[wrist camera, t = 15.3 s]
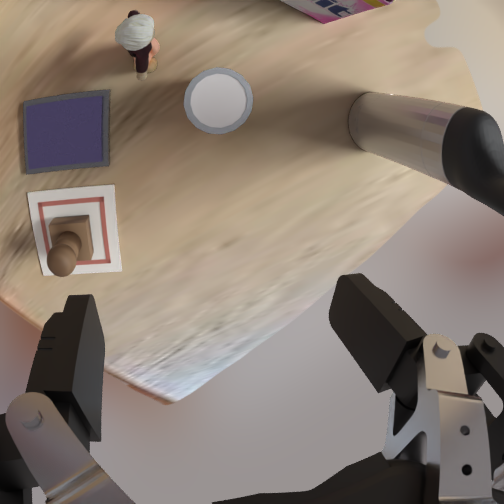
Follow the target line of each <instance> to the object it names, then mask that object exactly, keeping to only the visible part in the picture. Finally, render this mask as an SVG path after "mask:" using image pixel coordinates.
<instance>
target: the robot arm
mask: <svg viewBox="0 0 504 504" xmlns="http://www.w3.org/2000/svg"><path fill="white" fill-rule="evenodd" d="M348 124H349V131H350V134H351V137H352V139H353V140H354V142H355V143H356V144H357V146H358V147H360V148H361V149H363V150H365V151H368V152H370V153H373V154H376V155H379V156H381V157H384V158H386V159H389V160H392V161H394V162H397V163H399V164H402V165H404V166H407V167H409V168H412V169H414V170H417V171H419V172H421V173H424V174H426V175H428V176H431V177H433V178H436V179H438V180H440V181H442V182H444V183H447V184H449V185H451V186H453V187H455V188H457V189H459V190H461V191H463V192H465V193H466V194H467V195H469V196H471V197H472V198H474V199H476V200H478V201H479V202H481V203H483V204H485V205H487V206H488V207H490V208H492V209H493V210H495V211H497V212H498V213H500V214H501V215H503V216H504V144H503V139H502V135H501V131H500V129H499V126H498V124H497V123H496V121H495V120H494V118H493V117H492V116H491V115H489V114H488V113H486V112H484V111H481V110H478V109H474V108H469V107H465V106H460V105H455V104H451V103H445V102H439V101H434V100H428V99H422V98H415V97H408V96H401V95H393V94H385V93H373V92H370V93H365V94H363V95H362V96H360V97H359V98H358V99H357V100H356V101H355V102H354V104H353V105H352V108H351V110H350V114H349V123H348ZM329 321H330V324H331V326H332V328H333V330H334V331H335V332H336V334H337V335H338V337H339V338H340V339H341V341H342V342H343V344H344V345H345V347H346V348H347V349H348V351H349V352H350V354H351V355H352V356H353V358H354V359H355V361H356V362H357V363H358V365H359V366H360V368H361V369H362V371H363V372H364V373H365V375H366V376H367V378H368V379H369V380H370V382H371V383H372V385H373V386H374V388H375V389H376V391H377V392H378V393H380V392H383V391H385V390H388V389H392V390H393V393H392V395H391V397H390V405H389V417H388V428H387V436H386V442H385V446H384V448H383V450H382V452H379V453H377V454H375V455H372V456H371V457H368V458H366V459H363V460H361V461H359V462H356V463H354V464H351V465H349V466H346V467H345V468H344V469H342V470H341V471H339V472H338V473H336V474H335V475H334V476H332V477H331V478H329V479H328V480H326V481H325V482H323V483H322V484H320V485H318V486H317V487H315V488H314V489H312V490H309V491H302V492H288V493H259V494H255V495H250V496H245V497H241V498H235V499H230V500H224V501H217V502H212V504H504V347H503V346H502V345H501V344H500V343H499V342H498V341H497V340H496V339H495V338H494V337H492V336H490V335H488V334H485V333H477V334H476V335H475V336H474V337H473V339H472V341H471V342H470V344H469V345H467V346H457V345H456V344H455V343H454V342H453V341H452V340H451V339H449V338H448V337H446V336H443V335H440V334H429V335H427V334H426V333H425V332H424V331H423V330H422V329H421V327H419V325H418V324H417V323H415V321H414V320H413V319H412V318H411V317H410V316H409V315H408V314H407V313H406V312H405V311H404V310H403V311H402V308H401V307H400V306H399V305H398V304H397V303H395V301H394V300H393V299H392V298H391V297H390V296H389V295H388V294H387V293H386V292H384V291H383V290H381V289H379V288H378V287H376V286H374V285H373V284H372V283H371V282H370V281H369V280H368V279H367V278H366V277H365V276H364V275H363V274H361V273H358V274H349V275H342V276H340V277H339V279H338V281H337V284H336V288H335V292H334V295H333V299H332V303H331V306H330V310H329ZM104 357H105V342H104V335H103V331H102V327H101V323H100V320H99V316H98V312H97V308H96V304H95V300H94V297H93V295H92V294H88V295H69V296H68V298H67V301H66V304H65V307H64V310H63V312H58V313H54V314H53V315H52V316H51V317H50V319H49V320H48V321H47V322H46V323H45V325H44V328H43V331H42V334H41V340H40V341H39V344H38V351H36V354H35V357H34V361H33V365H32V368H31V372H30V376H29V380H28V384H27V388H26V392H25V393H24V394H22V395H19V396H18V397H16V398H15V399H14V400H13V401H12V402H11V403H10V405H9V407H8V409H7V411H6V413H4V414H1V415H0V504H32V488H33V487H38V486H40V487H41V489H42V490H43V492H44V493H45V495H46V497H47V500H46V504H135V503H134V501H133V500H131V499H130V498H129V497H128V496H127V495H126V494H125V493H124V491H123V490H122V489H121V488H120V487H119V486H118V485H117V484H116V483H115V482H114V481H113V480H112V479H111V478H110V477H109V475H108V474H107V473H106V472H105V471H104V470H103V469H102V468H101V467H100V466H99V464H98V463H97V462H96V461H95V460H94V458H93V457H92V456H91V455H90V451H89V450H90V441H95V442H96V441H97V442H100V441H101V409H102V385H103V370H104ZM486 380H487V382H488V383H489V384H490V385H491V387H492V388H493V389H494V390H495V392H496V393H497V394H498V395H499V397H500V398H501V399H502V401H503V411H502V412H501V414H500V415H499V416H498V417H497V418H495V417H494V416H493V415H492V414H491V412H490V411H489V409H488V408H487V407H486V405H485V404H484V403H483V401H482V399H481V397H479V396H478V395H477V394H476V393H477V391H478V390H479V389H480V387H481V386H482V385H483V383H484V382H485V381H486ZM491 479H492V481H491Z"/></svg>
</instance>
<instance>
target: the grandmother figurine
mask: <svg viewBox="0 0 504 504" xmlns="http://www.w3.org/2000/svg"><path fill="white" fill-rule="evenodd" d="M154 35H155V30H154V20H153V19H152V18H151V17H150V16H148V15H145V14H140V12H139V11H138V10H133V11H130V12H129V14H128V19H125V20H124V21H123V22H122V24H120V25H119V26H118V27H117V29H116V31H115V40H116V42H117V43H119V44H122V46H123V47H124V48H125V49H127V50H128V51H129V53H130V55H131V56H133V58H134V65H133V68H134V70H135V71H137V79H138V80H145V79H146V77H147V73H151V72H153V71H154V70H155V69H156V67H157V60H156V59H155V58H154V57H152V56H154V55H155V54H156V53H158V51H159V48H160V45H159V43H158V41H157V40H156V39H155V38H154Z"/></svg>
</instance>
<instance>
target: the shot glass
mask: <svg viewBox="0 0 504 504" xmlns="http://www.w3.org/2000/svg"><path fill="white" fill-rule="evenodd" d="M252 104H253V95H252V91H251V87H250V85H249V84H248V82H247V81H246V80H245V79H244V77H243V76H242V75H240V74H239V73H237V72H235V71H233V70H231V69H227V68H218V67H216V68H212V69H209V70H205V71H203V72H201V73H200V74H199V75H197V76H196V77H195V78H193V79H192V80H191V82H190V84H189V86H188V87H187V89H186V91H185V97H184V108H185V111H186V114H187V117H188V119H189V120H190V121H191V122H192V123H193V124H194V126H195V127H196V128H198V129H200V130H202V131H204V132H206V133H210V134H224V133H227V132H231V131H234V130H236V129H237V128H238V127H239V126H241V125H242V124H243V123H244V122H245V121H246V119H247V118H248V116H249V114H250V113H251V111H252Z"/></svg>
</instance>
